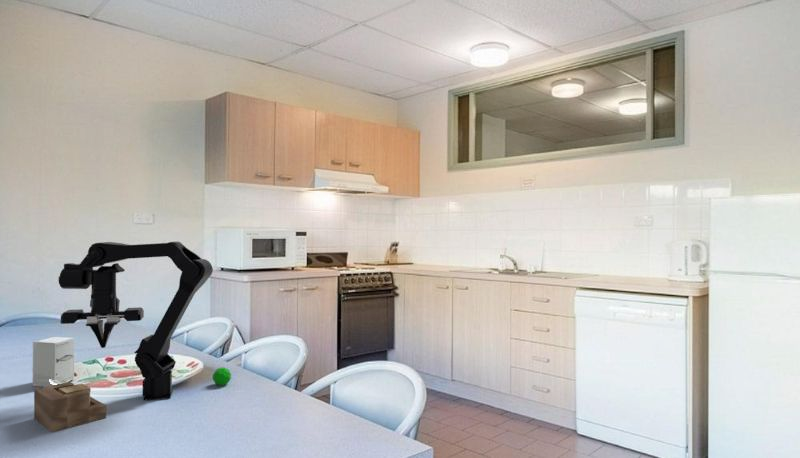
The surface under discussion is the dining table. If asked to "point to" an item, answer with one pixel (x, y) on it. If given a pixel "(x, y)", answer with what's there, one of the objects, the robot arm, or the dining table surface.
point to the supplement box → (53, 360)
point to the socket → (65, 407)
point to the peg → (74, 389)
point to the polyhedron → (221, 376)
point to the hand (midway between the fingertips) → (103, 347)
